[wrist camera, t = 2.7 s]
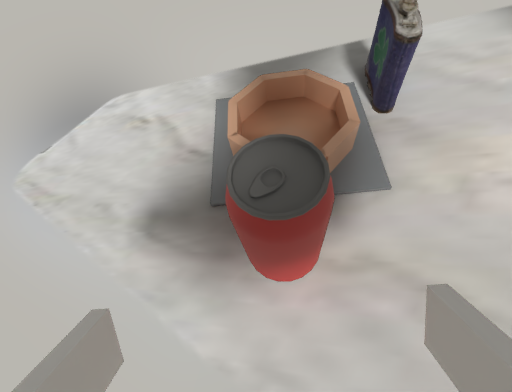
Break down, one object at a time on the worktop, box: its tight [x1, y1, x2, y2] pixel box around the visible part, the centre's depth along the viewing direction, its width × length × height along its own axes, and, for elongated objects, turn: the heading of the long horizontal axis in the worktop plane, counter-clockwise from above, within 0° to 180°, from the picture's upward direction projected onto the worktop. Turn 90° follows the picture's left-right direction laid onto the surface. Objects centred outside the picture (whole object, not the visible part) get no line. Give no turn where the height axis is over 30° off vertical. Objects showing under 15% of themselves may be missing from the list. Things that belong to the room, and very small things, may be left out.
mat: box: [211, 82, 391, 206], centre depth 31 cm, size 18×16×1 cm
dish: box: [227, 69, 360, 173], centre depth 29 cm, size 13×13×4 cm
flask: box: [365, 0, 422, 113], centre depth 29 cm, size 9×3×11 cm, turn 175°
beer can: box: [225, 134, 335, 281], centre depth 19 cm, size 7×7×12 cm
